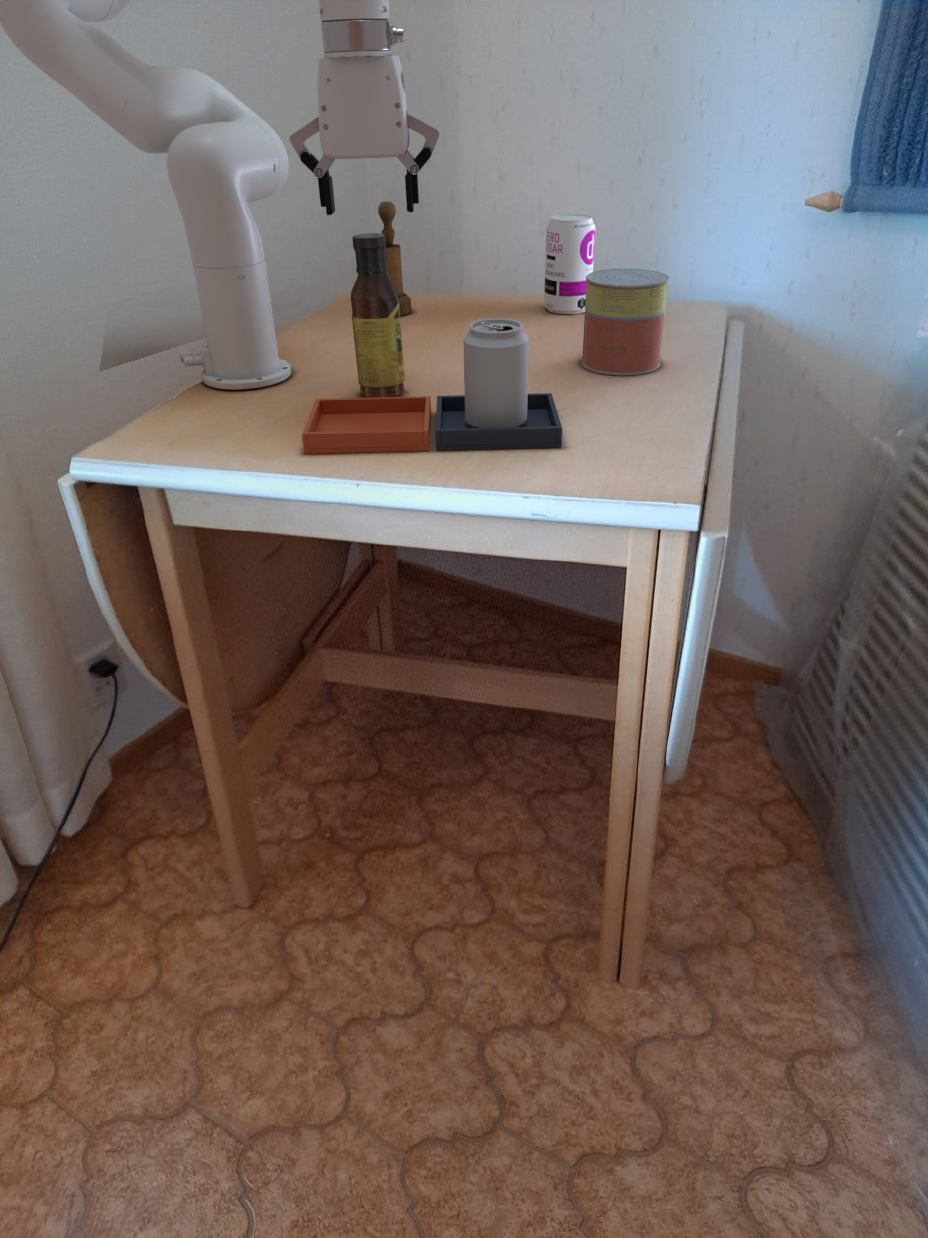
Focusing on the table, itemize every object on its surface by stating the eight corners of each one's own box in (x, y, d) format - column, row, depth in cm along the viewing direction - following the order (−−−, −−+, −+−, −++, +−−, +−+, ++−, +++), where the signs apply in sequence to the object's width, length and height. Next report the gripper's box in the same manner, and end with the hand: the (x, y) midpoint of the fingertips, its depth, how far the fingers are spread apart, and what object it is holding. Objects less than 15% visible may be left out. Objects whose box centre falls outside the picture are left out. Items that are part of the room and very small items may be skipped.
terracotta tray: (304, 453, 99) (301, 434, 98) (318, 417, 110) (315, 398, 108) (429, 450, 99) (428, 430, 98) (431, 414, 109) (430, 395, 108)
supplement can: (597, 306, 154) (603, 215, 146) (577, 317, 149) (582, 222, 141) (557, 301, 158) (560, 212, 150) (536, 311, 152) (538, 219, 144)
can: (522, 438, 100) (524, 332, 94) (459, 434, 102) (456, 330, 95) (531, 415, 106) (533, 315, 100) (471, 412, 108) (470, 313, 101)
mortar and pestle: (371, 309, 156) (363, 200, 146) (406, 306, 158) (400, 197, 148) (379, 318, 151) (371, 205, 141) (415, 314, 152) (410, 202, 143)
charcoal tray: (436, 450, 99) (435, 430, 98) (437, 414, 109) (436, 395, 108) (561, 447, 99) (562, 427, 98) (551, 411, 109) (551, 392, 108)
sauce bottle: (411, 397, 115) (402, 236, 104) (366, 404, 113) (352, 241, 102) (396, 383, 120) (386, 229, 109) (353, 390, 118) (338, 233, 107)
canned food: (675, 362, 126) (685, 275, 119) (628, 380, 119) (636, 289, 113) (613, 348, 132) (619, 265, 126) (565, 364, 126) (569, 277, 119)
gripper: (436, 39, 98) (442, 205, 107) (284, 45, 98) (303, 210, 107) (435, 38, 92) (442, 214, 101) (272, 43, 92) (294, 219, 101)
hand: (370, 211), depth 104 cm, fingers open, 9 cm apart
